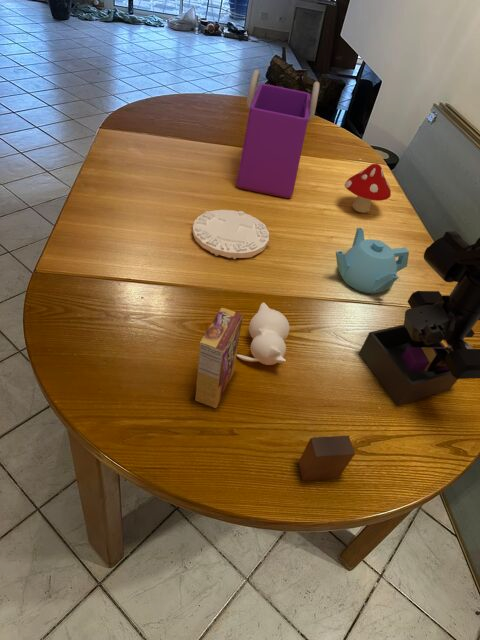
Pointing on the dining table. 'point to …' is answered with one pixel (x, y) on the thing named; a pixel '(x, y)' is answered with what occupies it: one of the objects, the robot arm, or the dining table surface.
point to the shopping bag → (274, 137)
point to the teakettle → (370, 264)
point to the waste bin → (401, 366)
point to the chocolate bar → (420, 358)
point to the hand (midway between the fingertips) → (425, 362)
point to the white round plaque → (230, 233)
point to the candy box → (217, 356)
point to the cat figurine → (268, 336)
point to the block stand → (325, 458)
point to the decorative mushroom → (368, 187)
